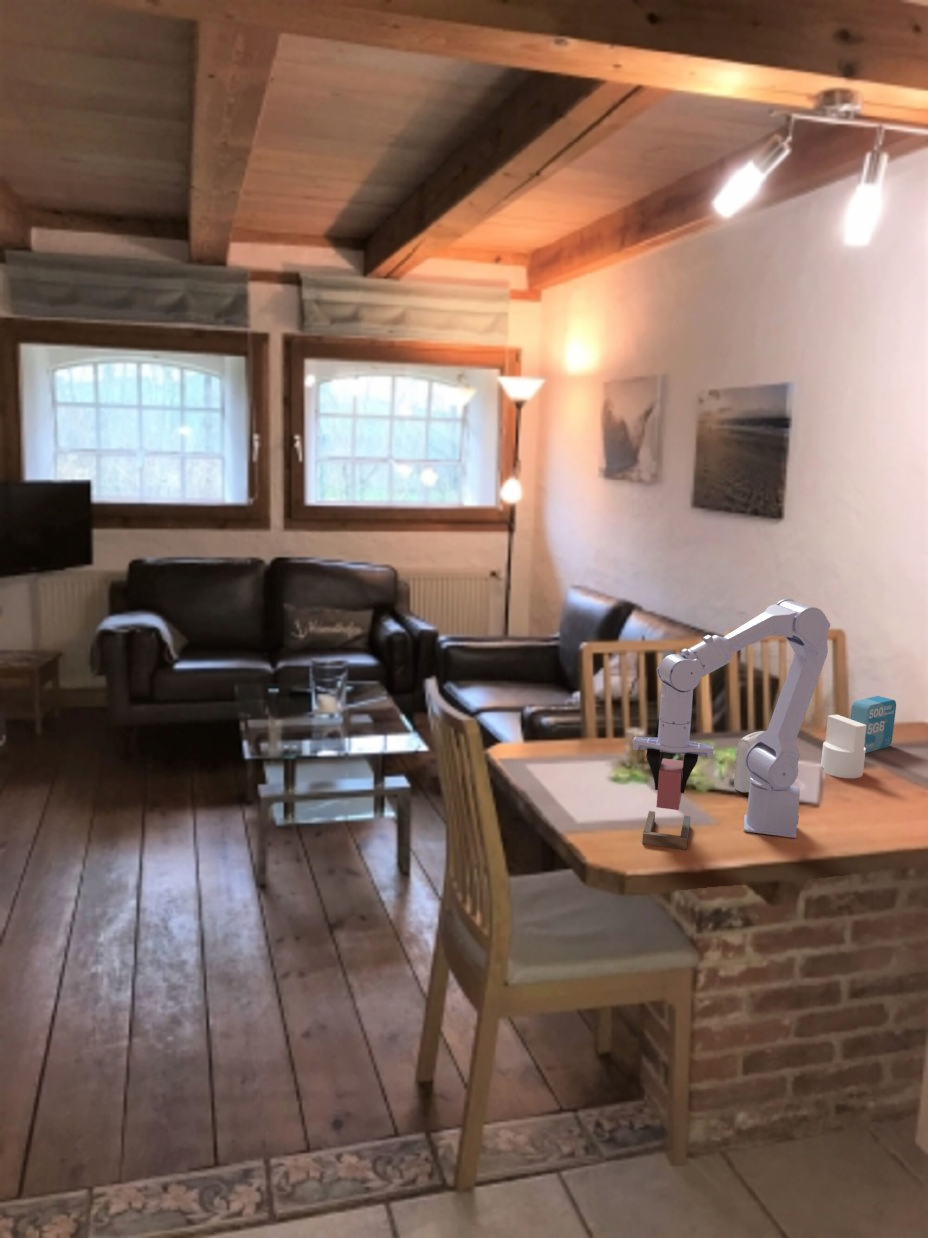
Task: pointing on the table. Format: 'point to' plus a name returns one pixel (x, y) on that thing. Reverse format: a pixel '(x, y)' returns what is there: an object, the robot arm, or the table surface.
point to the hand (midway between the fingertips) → (669, 790)
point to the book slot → (665, 839)
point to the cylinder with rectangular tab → (844, 747)
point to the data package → (875, 720)
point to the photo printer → (743, 762)
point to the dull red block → (670, 784)
